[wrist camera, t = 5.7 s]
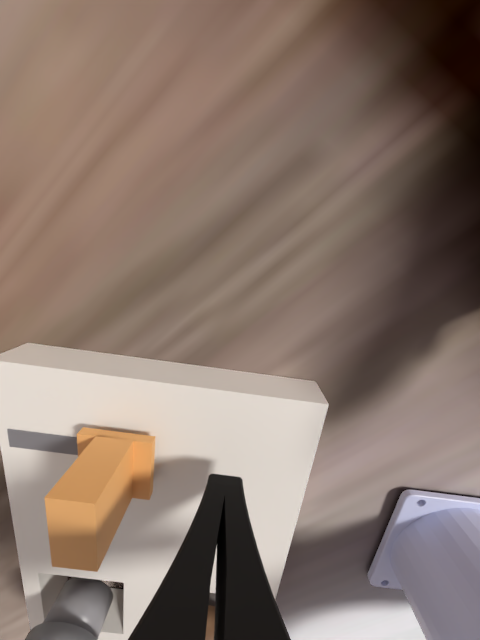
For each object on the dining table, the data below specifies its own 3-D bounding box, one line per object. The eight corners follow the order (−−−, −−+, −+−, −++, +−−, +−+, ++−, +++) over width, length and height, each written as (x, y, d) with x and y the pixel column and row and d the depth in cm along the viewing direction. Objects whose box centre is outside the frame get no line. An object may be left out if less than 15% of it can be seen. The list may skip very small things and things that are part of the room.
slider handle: (155, 436, 10) (120, 507, 7) (152, 491, 11) (120, 574, 8) (82, 427, 10) (18, 494, 7) (85, 483, 11) (28, 564, 8)
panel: (315, 381, 12) (329, 405, 10) (256, 617, 17) (258, 664, 15) (28, 342, 12) (-16, 359, 10) (55, 594, 17) (31, 638, 15)
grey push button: (119, 575, 14) (79, 679, 11) (119, 616, 15) (82, 723, 12) (54, 568, 14) (-9, 670, 11) (58, 609, 15) (3, 714, 12)
